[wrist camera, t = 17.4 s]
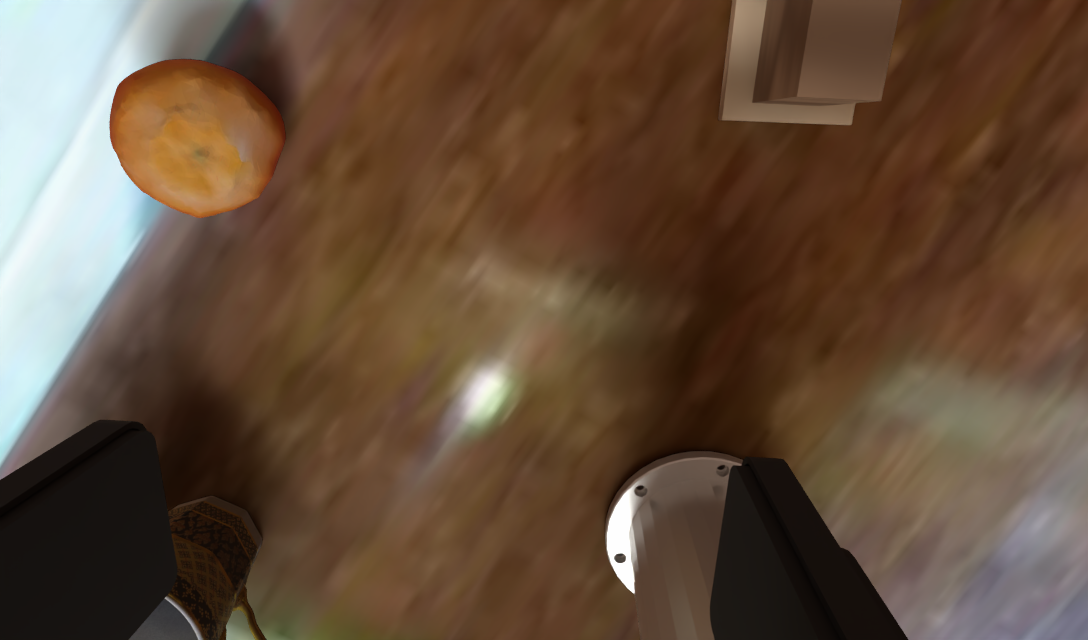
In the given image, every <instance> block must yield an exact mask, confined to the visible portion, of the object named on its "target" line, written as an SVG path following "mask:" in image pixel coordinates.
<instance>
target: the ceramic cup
mask: <svg viewBox="0 0 1088 640" xmlns="http://www.w3.org/2000/svg"><path fill="white" fill-rule="evenodd" d="M168 516H169V522H170V528H171V533H172V539H173V545H174V551H175V556H176V562H177V578H176V581H175V584H174V586H173V588H172V590H171V591H170V592H169V594H168V595H167V596H166V597H165V598H164V600H163V601H162V602H161V603H160V604H159V605H158V607H157V608H156V609H155V610H154V611H153V612H152V613H151V615H150V616H149V617H148V618H147V619H146V620H145V621H144V623H143V624H142V625H141V626H140V627H139V628H138V630H137V631H136V632H135V633H134V634H133V635H132V636H131V638H130V639H129V640H226V624H227V622H228V620H229V618H230V615H231V613H232V611H236V610H240V611H242V612H243V613H244V614H245V616H246V618H247V620H248V624H249V628H250V630H251V632H252V634H253V636H254V638H255V639H256V640H266V638H265V637H264V635H263V633H262V632H261V630H260V629H259V627H258V625H257V623H256V620H255V616H254V613H253V610H252V608H251V607H250V605H249V603H248V601H247V589H246V587H245V585H246V582H247V578H248V575H249V572H250V569H251V567H252V565H253V563H254V561H255V558H256V556H257V554H258V551H259V549H260V547H261V544H262V537H261V535H260V534H259V532H258V530H257V528H256V526H255V524H254V523H253V521H252V519H251V517H250V515H249V514H248V512H247V511H246V510H245V509H243V508H240V507H238V506H236V505H234V504H231V503H229V502H227V501H224V500H222V499H220V498H217V497H215V496H208V497H204V498H201V499H197V500H194V501H190V502H187V503H183V504H180V505H178V506H176V507H175V508H173V509H172V510H170V511H168Z"/></svg>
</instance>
